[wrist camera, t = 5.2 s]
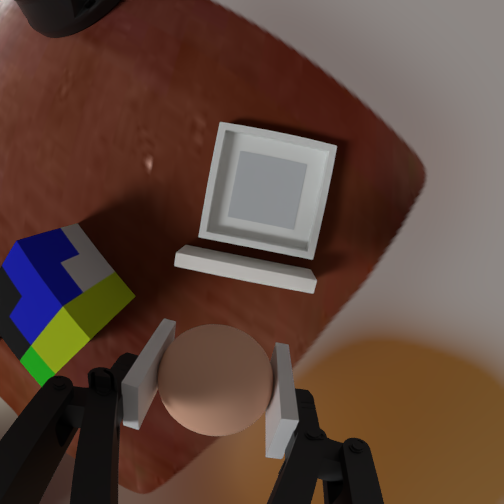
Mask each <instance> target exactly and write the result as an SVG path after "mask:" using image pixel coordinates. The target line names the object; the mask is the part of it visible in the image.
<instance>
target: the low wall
mask: <svg viewBox="0 0 504 504" xmlns="http://www.w3.org/2000/svg"><path fill="white" fill-rule="evenodd" d="M174 266H176V267H181V268H185V269H190V270H195V271H200V272H204V273H209V274H214V275H219V276H224V277H229V278H234V279H239V280H244V281H249V282H254V283H259V284H265V285H270V286H275V287H280V288H286V289H291V290H296V291H302V292H307V293H314V290H315V286H316V282H317V280H316V278H315V276H314V274H313V272H312V271H311V269H306V268H301V267H296V266H291V265H286V264H281V263H276V262H271V261H266V260H261V259H256V258H250V257H245V256H240V255H235V254H230V253H225V252H220V251H215V250H210V249H205V248H200V247H195V246H190V245H185V246H183V247H182V248H181V249H180V250H178V251H177V252H176V256H175V263H174Z"/></svg>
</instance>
